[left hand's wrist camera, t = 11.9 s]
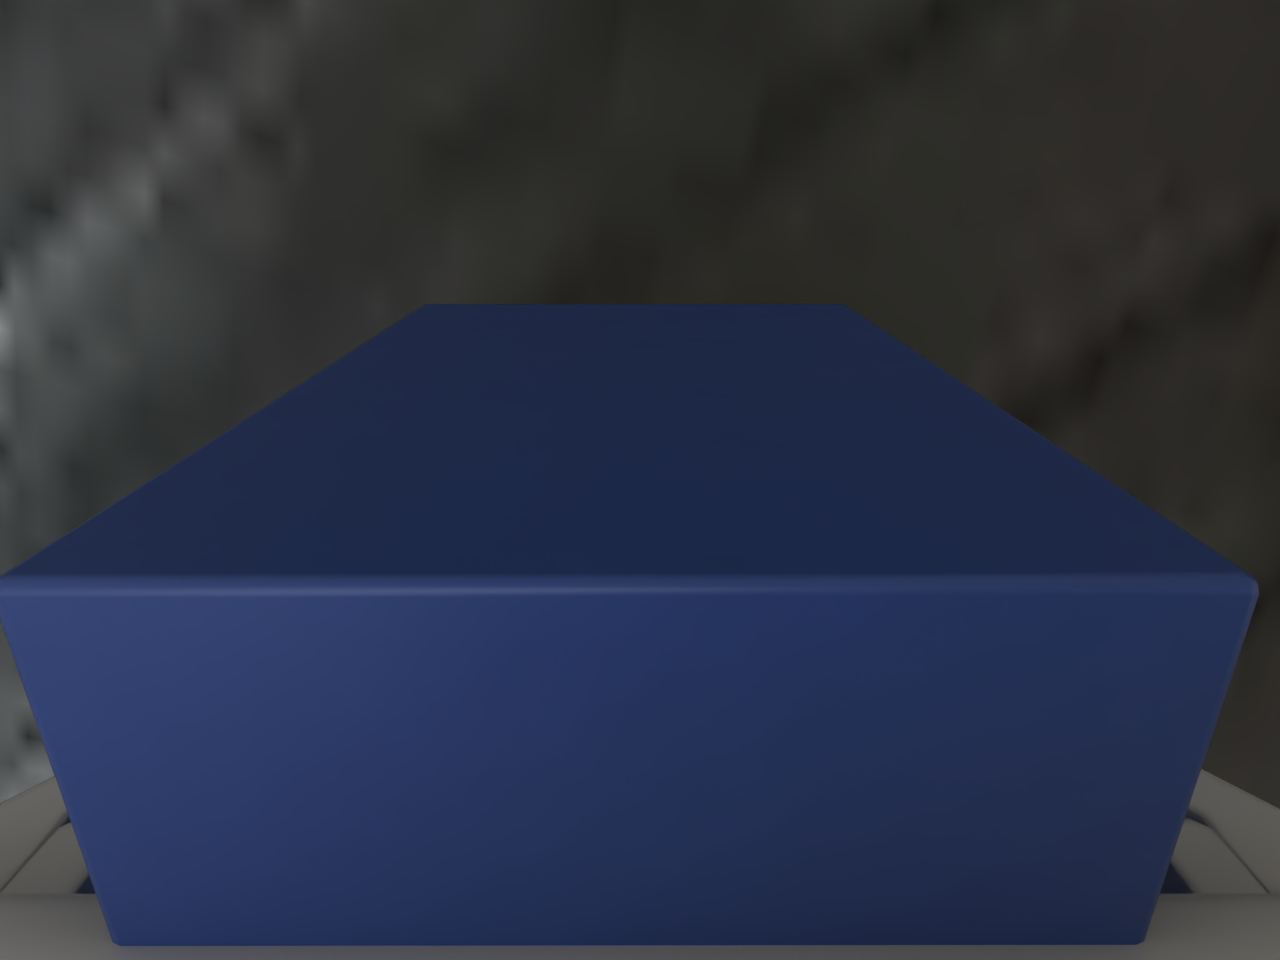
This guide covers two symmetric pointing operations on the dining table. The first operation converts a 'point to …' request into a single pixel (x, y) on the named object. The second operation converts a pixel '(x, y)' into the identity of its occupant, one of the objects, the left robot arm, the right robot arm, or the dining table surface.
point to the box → (627, 652)
